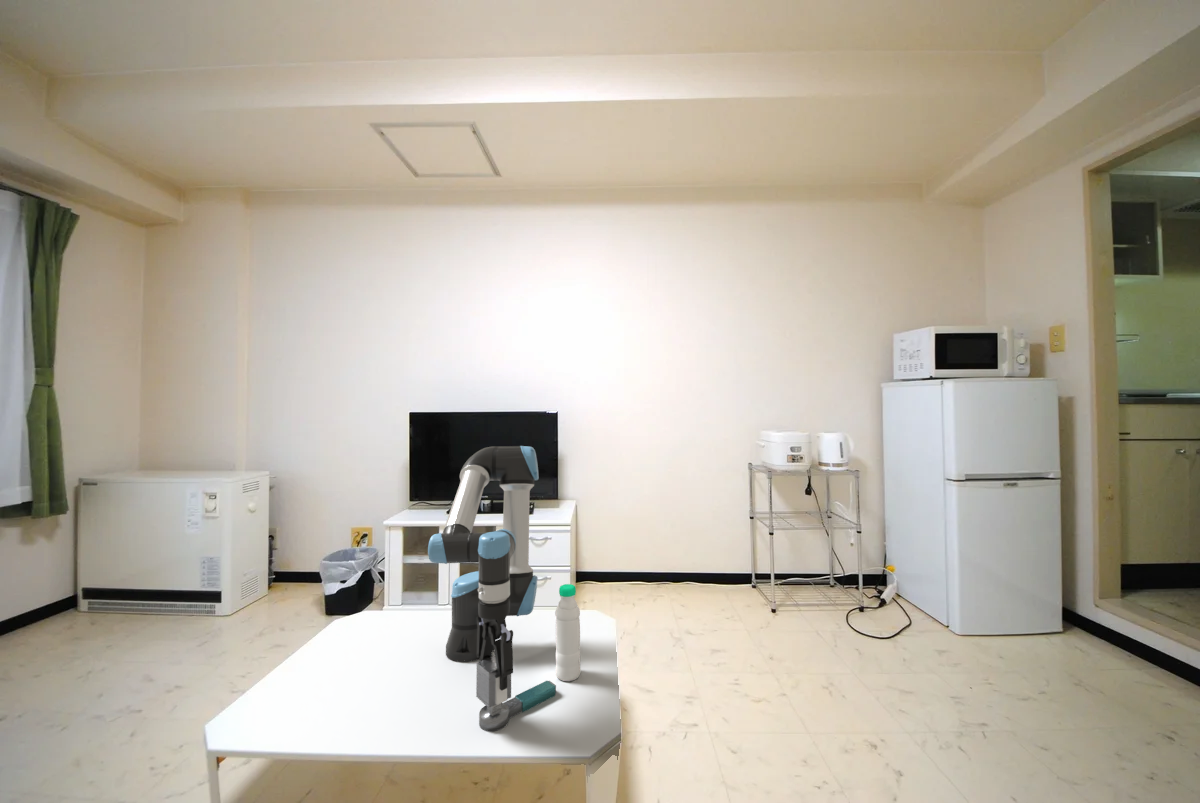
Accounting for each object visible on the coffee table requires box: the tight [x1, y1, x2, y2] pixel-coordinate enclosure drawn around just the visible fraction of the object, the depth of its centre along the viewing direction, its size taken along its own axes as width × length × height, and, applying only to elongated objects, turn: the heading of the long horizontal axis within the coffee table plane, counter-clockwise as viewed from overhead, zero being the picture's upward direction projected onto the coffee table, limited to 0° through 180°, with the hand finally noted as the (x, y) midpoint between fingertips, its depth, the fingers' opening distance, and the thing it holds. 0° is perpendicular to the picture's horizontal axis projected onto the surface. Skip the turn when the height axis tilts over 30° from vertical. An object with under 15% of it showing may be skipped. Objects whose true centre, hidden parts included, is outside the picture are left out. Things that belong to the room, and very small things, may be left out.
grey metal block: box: [475, 655, 512, 708], centre depth 110 cm, size 6×6×8 cm
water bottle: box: [554, 583, 581, 682], centre depth 130 cm, size 7×7×25 cm
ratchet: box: [478, 680, 557, 733], centre depth 114 cm, size 21×7×6 cm, turn 133°
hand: (494, 695), depth 110 cm, fingers closed on grey metal block, 6 cm apart
